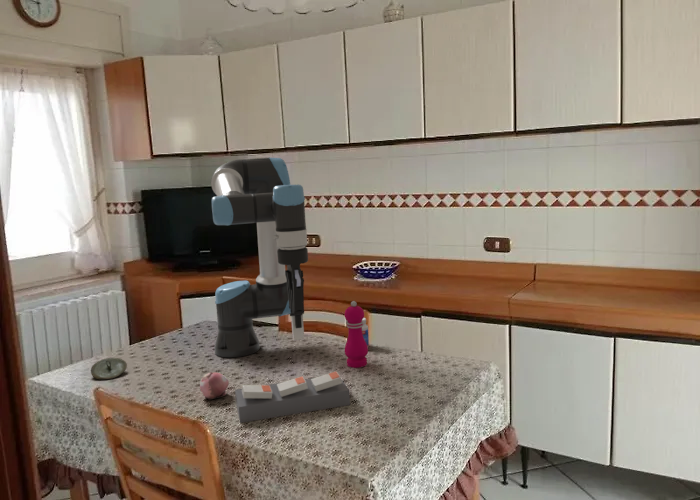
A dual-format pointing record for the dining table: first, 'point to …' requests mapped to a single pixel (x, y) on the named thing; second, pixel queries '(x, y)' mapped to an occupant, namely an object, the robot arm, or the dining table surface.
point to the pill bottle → (365, 332)
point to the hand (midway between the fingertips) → (298, 339)
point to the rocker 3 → (326, 381)
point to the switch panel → (291, 402)
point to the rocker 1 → (256, 391)
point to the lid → (108, 368)
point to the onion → (214, 385)
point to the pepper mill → (355, 337)
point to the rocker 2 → (292, 386)
